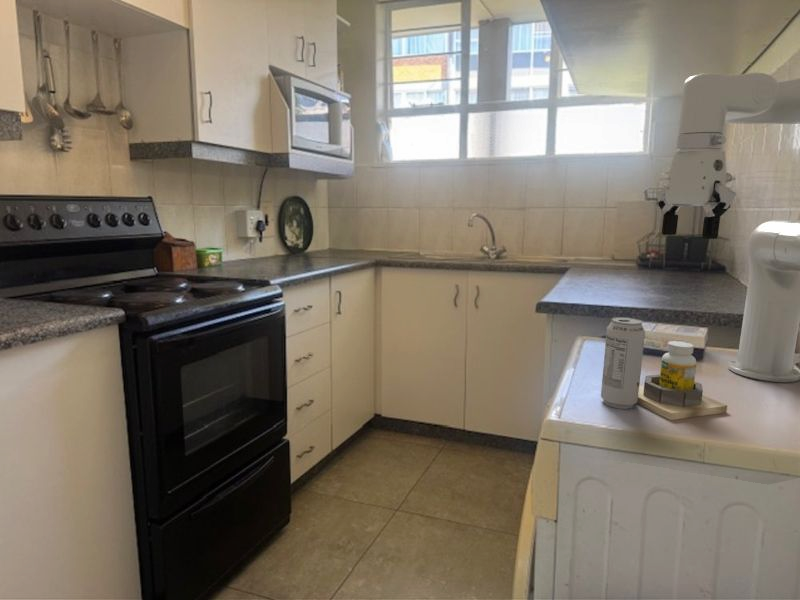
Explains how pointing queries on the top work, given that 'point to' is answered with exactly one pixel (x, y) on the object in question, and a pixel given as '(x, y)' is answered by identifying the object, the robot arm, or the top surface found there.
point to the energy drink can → (622, 362)
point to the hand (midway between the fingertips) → (688, 236)
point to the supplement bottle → (678, 367)
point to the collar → (676, 400)
